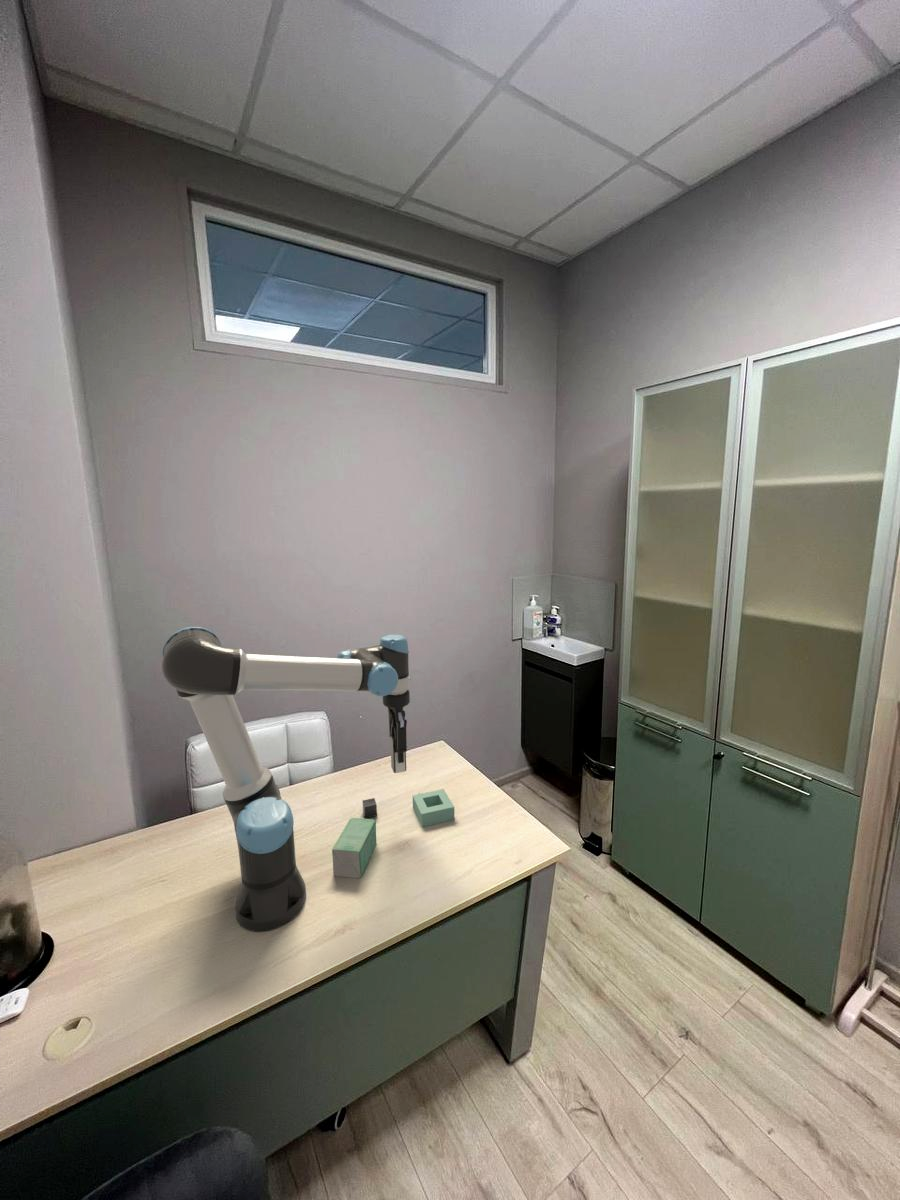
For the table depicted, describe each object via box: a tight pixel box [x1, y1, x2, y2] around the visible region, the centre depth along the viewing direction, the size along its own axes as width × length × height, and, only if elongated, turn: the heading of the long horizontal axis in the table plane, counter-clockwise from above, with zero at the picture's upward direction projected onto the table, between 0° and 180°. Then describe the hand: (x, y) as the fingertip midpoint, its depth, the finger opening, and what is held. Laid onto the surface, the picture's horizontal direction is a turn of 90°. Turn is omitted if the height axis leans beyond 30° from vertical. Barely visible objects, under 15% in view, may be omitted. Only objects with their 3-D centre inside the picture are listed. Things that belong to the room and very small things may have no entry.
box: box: [331, 817, 377, 879], centre depth 123 cm, size 7×14×8 cm, turn 172°
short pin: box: [361, 797, 378, 819], centre depth 142 cm, size 4×4×4 cm
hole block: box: [412, 788, 456, 827], centre depth 142 cm, size 10×10×4 cm
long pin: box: [389, 734, 407, 774], centre depth 136 cm, size 4×4×10 cm
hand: (398, 767), depth 136 cm, fingers closed on long pin, 4 cm apart
